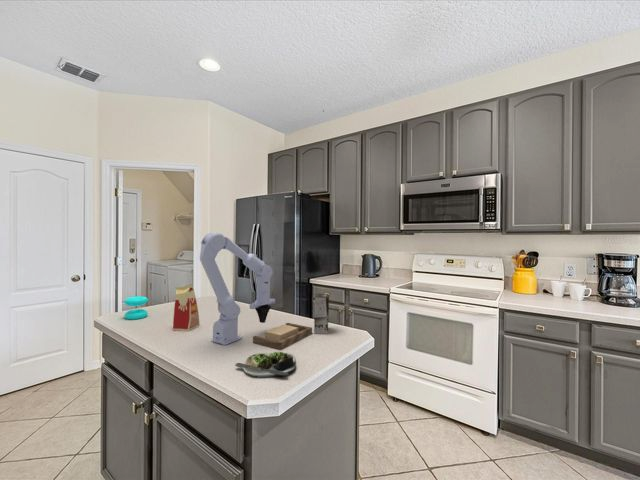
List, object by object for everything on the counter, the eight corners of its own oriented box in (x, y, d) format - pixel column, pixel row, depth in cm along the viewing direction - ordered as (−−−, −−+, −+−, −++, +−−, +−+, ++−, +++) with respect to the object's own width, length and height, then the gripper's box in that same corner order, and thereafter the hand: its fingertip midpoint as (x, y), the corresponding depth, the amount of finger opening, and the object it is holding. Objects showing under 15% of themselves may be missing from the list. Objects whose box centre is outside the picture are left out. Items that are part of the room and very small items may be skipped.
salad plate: (230, 382, 88) (230, 366, 88) (240, 357, 105) (240, 344, 105) (295, 380, 90) (296, 365, 89) (295, 356, 107) (295, 343, 107)
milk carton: (199, 325, 140) (200, 282, 140) (189, 331, 131) (189, 286, 131) (181, 324, 141) (181, 282, 141) (169, 330, 132) (170, 285, 132)
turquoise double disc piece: (120, 298, 150) (141, 295, 158) (120, 318, 150) (141, 313, 158) (130, 300, 144) (151, 297, 153) (130, 321, 145) (151, 316, 153)
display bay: (279, 350, 112) (279, 343, 112) (252, 342, 119) (252, 336, 119) (312, 333, 132) (312, 327, 132) (287, 328, 139) (287, 322, 139)
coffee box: (328, 334, 131) (329, 297, 131) (313, 333, 131) (314, 297, 131) (328, 327, 140) (328, 293, 140) (314, 327, 140) (315, 293, 140)
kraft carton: (280, 345, 118) (280, 335, 118) (265, 341, 122) (265, 331, 122) (298, 336, 128) (298, 327, 128) (283, 333, 132) (283, 324, 132)
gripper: (267, 288, 139) (266, 317, 139) (244, 292, 127) (243, 324, 127) (279, 289, 136) (278, 319, 136) (257, 294, 123) (256, 327, 123)
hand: (262, 322), depth 131 cm, fingers closed
